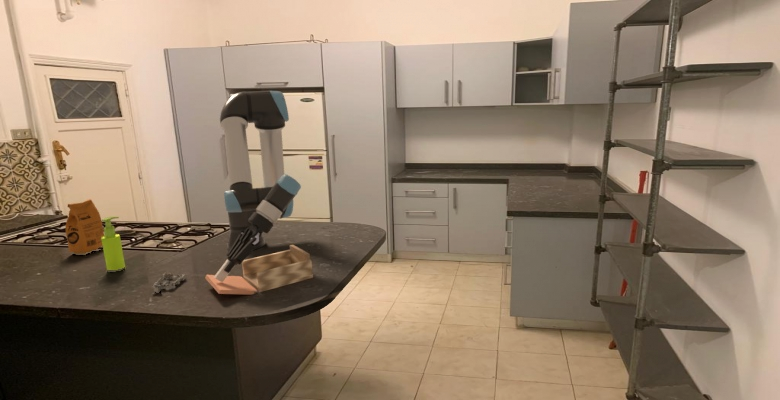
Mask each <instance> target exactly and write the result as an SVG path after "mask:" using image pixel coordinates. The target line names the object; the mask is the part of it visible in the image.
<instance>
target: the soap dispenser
mask: <svg viewBox="0 0 780 400" xmlns="http://www.w3.org/2000/svg"><path fill="white" fill-rule="evenodd" d="M119 218H120V217H119V216H109V217H105V218H103V219H102V218H101V221H102V222H105V227H104V226H103V231H104V236H103V237H102V238H101V240H102V245H103V249H102V251H103V256H104V261H105V267H106V271H107V270H118V269H122V268H124V267H125V268H126V263H125V257H124V252H123V247H122V240H121V235H120V234H118V233H116V230H115V226H114V225H112V222H111V221H112V220H115V219H119Z"/></svg>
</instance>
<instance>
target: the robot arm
mask: <svg viewBox="0 0 780 400" xmlns="http://www.w3.org/2000/svg"><path fill="white" fill-rule="evenodd" d="M219 116H220V117H219V121H220V123H219V124H220V125H219V126H220V128H221V129H222V130H223V135H224V142H225V153H226V155H225V156H226V163H227V166H226V167H227V174H228V175H227V176H228V184H229V190H226V191H224V192H223V193H224V194H223V196H224V198H223V199H224V205H225V206H224V207H225V211H226V212H227V216H228V217H227V218H228V226H229V233H228V234H229V235H228V240H227V243H226V246H227V250H228V252H227V253H226V256H227V257H226V260H225V261H224V262H223V264H222V266H221V267H220V268H219V270H218V271H217V272H216V273H215V274H214V275H215V276H214V278H216V279H217V280H219V281H221V282H223V281H224V280H225V278H226V277H227V276H229V274H230V273H231V272H232V270H233V269H234V267H236V266H237V265H242V262H243V261H244V260H246V258H247V257H248V256H249V255H250V254H251V253H252V252H253V251H255V250H257V249H260V248H262V247H264V246H265V244H266V243H265V242H266V241H265V237H264V236H263V233H264V234H268V233H270V232H271V230H272V228H274V224H275V223H277V222H278V220H279V219H280V220H282V219H285V218H290V217H291V216H292V215H293V211H294V198H295V197H296V196H297V195H298V193H299V191H300V190H301V188H302V185H301V184H300V182H298V181H297V180H296V179H294V177H292V176H290V175H288V174H286V173H285V161H284V148H283V146H284V145H283V131H282V130H283V129H284V128H285V127H286V122H288V121H289V120H290V117H289V110H288V106H287V103H286V99H285V95H284V93H283V92H282V91H279V90H258V91H257V90H256V91H240V92H236V93H234V94H233V95H232V96H230V97H229V98H228V99H227V100H226V102H225V103H224V104H223V107H222V109H221V112H220V115H219ZM249 124H254V128H255V129H256V130H257V131H258V134H259V135H258V136H259V144H260V155H261V165H262V166H261V167H262V177H263V186H262V187H256V188H255V187H254V188H253V179H252V170H251V163H250V153H249V147H248V146H249V145H248V139H247V136H248V135H247V129H248V127H249Z"/></svg>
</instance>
